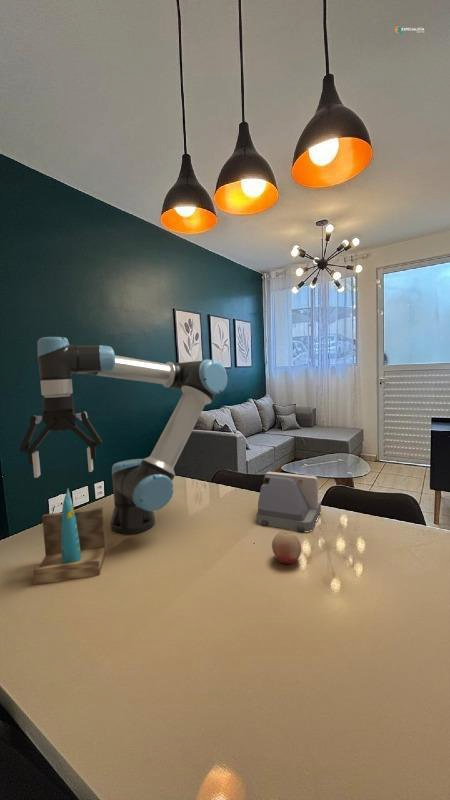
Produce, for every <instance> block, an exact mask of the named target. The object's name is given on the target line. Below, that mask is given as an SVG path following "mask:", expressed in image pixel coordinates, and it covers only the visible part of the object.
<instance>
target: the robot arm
mask: <svg viewBox="0 0 450 800" xmlns="http://www.w3.org/2000/svg"><path fill="white" fill-rule="evenodd" d="M36 343H37V355H36V356H37V361H38V369H39V378H40V379H39V380H40V391H41V392H40V393H41V395H42V396H44V397H43V398H42V399H41V403H42V412H43V415H37V414H34V415H32V416H30V418H29V425H28V428H27V429H26V432H25V436H24V437H23V440H22V442H21V444H20V446H19V452H20V453H21V452H24V453H27V457H28V458H27V459H28V464H29V466H32V468H33V477H34V479H35V478H36V479H37V478H39V477H40V476H41V464H40V456H39V455H40V454H39V453H40V452H39V450H36V449H37V448H38V447H39V446H40V444H42V442H43V440H44V439H45V438H46V437H47V435H48V434H49V433H50V432H51V431H53V432H58V431H67V430H70V431H71V432H73V433H74V434H75V435H76V436H77V437H78V438H80V439H81V441H83V442H84V443H85V444H86V445H87V446H88V447H87V448H86V454H87V465H88V466H87V467H88V472H89V473H91V472H93V471H94V462H93V461H94V460H95V459H96V458H97V451H96V447H97V446H99V445H101V444H102V442H103V439H102V438H101V436H100V435H99V433H98V432H97V430H96V428H95V427H94V426H93V424H92V423H91V421H90V419H89V414H88V412H87V411H83V412H79V413H76V412H75V404H74V403H75V402H74V401H75V400H74V396H73V395H71V394H73V393H74V391H73V380H72V374H76V375H81V374H82V375H89V376H97V377H98V376H99V377H105V378H106V377H107V378H112V379H113V378H115V379H121V380H128V381H136V382H144V383H145V382H146V383H151V384H159V385H163V387H164V388H167V389H174V390H177V391H181V392H182V394H181V397H180V399H179V401H178V403H177V405H176V407H175V408H174V411H172V414H171V416H170V417H169V420H168V422H167V424H166V425H165V427H164V429H163V431H162V433H161V434H160V437H159V438H158V441H157V442H156V444H155V445H154V447H153V450H152V451H151V454H150V455H149V456H147V457H145V458H135V459H126V460H122V461H118V462H116V463H113V465H112V467H111V478H112V480H111V481H112V488H113V489H112V491H113V503H114V507H113V511H112V515H111V519H110V531H111V532H113V534H116V535H123V536H125V535H126V536H128V535H137V534H139V533H142V532H146V531H148V530H149V529H151V528H153V526H155V524H156V515H155V513H154V512H155V511H158V510H160V509H162V508H164V507H165V506H167V505H169V502H170V501H171V500H172V498H173V494H174V490H175V489H174V483H173V480H174V478H175V476H176V473H175V466H176V464H177V462H178V459H179V458H180V456H181V454H182V452H183V450H184V448H185V446H186V444H187V442H188V440H189V438H190V436H191V434H192V432H193V430H194V429H195V426H196V424H197V422H198V420H199V418H200V416H201V414H202V413H203V411H204V408H205V406H206V405H209V404H211V403H212V402H213V400H214V398H215V396H216V395H217V394H218V395H219V394H220V393H222V392H223V391H225V390H226V387H227V386H228V374H227V370H226V368H225V366H224V365H223V364H222V363H221V362H219V361H218V360H215V359H203V360H197V361H195V360H193V361H186V362H184V361H183V362H172V361H167V362H166V363H162V362H157V361H151V360H146V359H145V360H144V359H138V358H134V357H129V356H128V357H127V356H121V355H116V354H115V351H114V349H113V347H111V346H109V345H101V344H99V345H73V344H70V343H69V340H68V338H67V337H63V336H46V337H45V336H44V337H41V338H39V339H38V340H37V342H36ZM77 418H78V419H79V421H82V423H83V426H84V427H85V429H86V430H87V431H88V433H89V434H90V436H91V437H90V436H89V435H88V434H87V433H85V431H83V430H82V428H80V427H79V425H77V424H76V423H75V421H76V419H77ZM41 421H42V422H43V423H44V424H45V426H44V428H43V429H42V431H41V432H40V433H39V435H38V436H37V437H36V439H35V440H34V441H33V442H32V444H31V445H30V443H31V441H32V439H33V436H34V435H35V434H34V433H35V431H36V429H37V427H38V425H39V424H40V423H41Z"/></svg>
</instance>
